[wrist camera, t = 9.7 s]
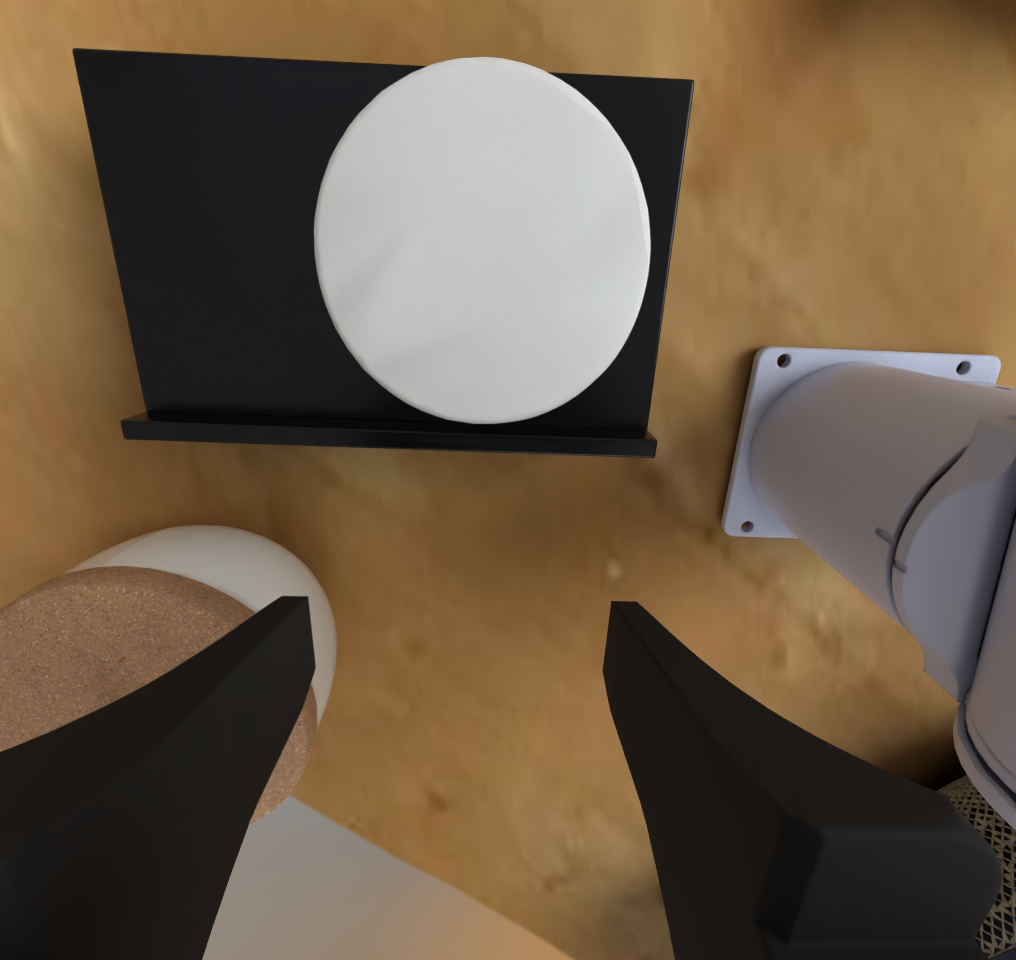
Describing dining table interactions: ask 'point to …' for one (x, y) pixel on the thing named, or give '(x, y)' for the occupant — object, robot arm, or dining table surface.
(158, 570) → the trinket box
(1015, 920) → the portable speaker
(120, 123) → the black lipped tray
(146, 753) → the robot arm
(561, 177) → the supplement bottle
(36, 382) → the dining table surface
